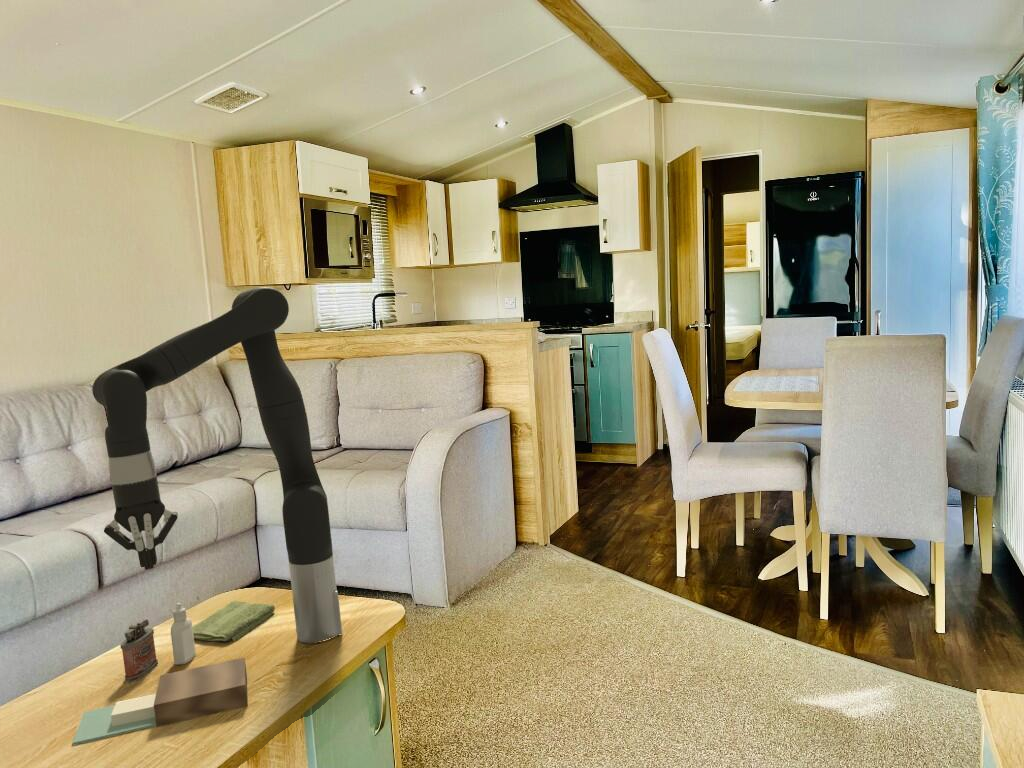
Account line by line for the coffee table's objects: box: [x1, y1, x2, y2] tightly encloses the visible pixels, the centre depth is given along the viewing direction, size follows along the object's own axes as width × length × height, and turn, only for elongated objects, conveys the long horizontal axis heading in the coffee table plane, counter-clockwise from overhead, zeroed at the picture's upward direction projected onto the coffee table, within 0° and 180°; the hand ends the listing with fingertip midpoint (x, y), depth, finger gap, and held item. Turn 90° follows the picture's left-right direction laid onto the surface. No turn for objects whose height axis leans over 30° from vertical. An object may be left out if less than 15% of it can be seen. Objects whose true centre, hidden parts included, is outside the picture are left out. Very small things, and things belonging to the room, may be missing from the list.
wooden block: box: [154, 657, 249, 728], centre depth 140 cm, size 15×12×4 cm
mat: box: [71, 704, 156, 746], centre depth 136 cm, size 13×11×1 cm
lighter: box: [119, 618, 159, 683], centre depth 154 cm, size 8×3×10 cm, turn 168°
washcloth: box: [192, 600, 276, 643], centre depth 174 cm, size 13×18×3 cm
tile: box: [111, 693, 156, 726], centre depth 136 cm, size 7×5×2 cm
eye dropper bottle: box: [170, 602, 197, 666], centre depth 158 cm, size 4×6×12 cm
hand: (149, 567), depth 142 cm, fingers closed
